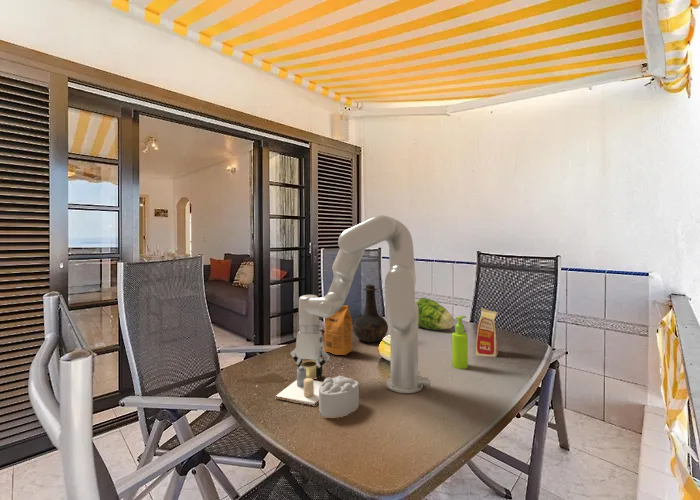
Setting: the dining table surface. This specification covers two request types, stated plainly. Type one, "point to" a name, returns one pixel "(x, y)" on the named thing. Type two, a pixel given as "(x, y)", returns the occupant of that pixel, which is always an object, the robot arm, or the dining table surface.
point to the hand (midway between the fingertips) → (310, 374)
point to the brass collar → (310, 368)
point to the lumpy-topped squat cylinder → (338, 396)
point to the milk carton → (486, 334)
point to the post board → (302, 388)
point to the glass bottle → (370, 320)
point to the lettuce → (433, 315)
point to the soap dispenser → (459, 346)
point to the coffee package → (338, 332)
